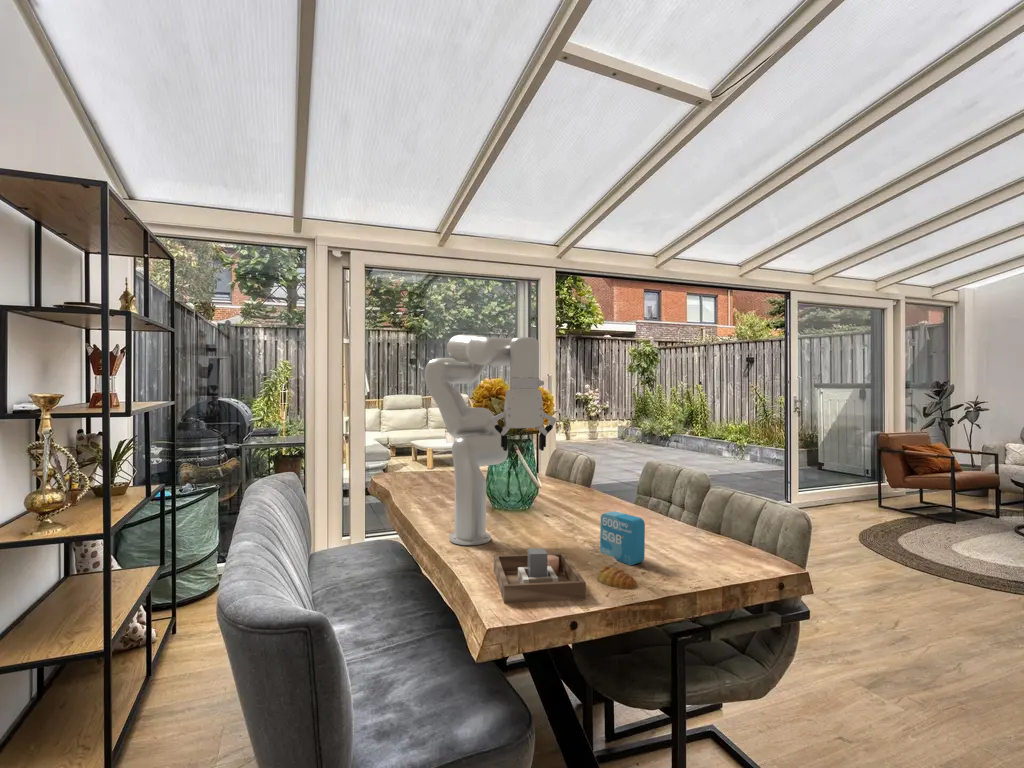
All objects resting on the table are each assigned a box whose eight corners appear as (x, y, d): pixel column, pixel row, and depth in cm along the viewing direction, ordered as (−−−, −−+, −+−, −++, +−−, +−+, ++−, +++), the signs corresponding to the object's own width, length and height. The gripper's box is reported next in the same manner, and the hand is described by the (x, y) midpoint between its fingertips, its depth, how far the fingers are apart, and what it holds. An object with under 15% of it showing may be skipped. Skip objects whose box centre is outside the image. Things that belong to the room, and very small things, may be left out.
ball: (539, 571, 135) (539, 555, 135) (556, 570, 136) (556, 554, 136) (542, 577, 131) (543, 561, 131) (560, 576, 131) (560, 560, 131)
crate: (493, 573, 135) (493, 555, 135) (563, 570, 138) (563, 553, 138) (504, 606, 116) (504, 586, 116) (585, 602, 118) (585, 582, 118)
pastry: (643, 588, 127) (643, 572, 127) (627, 596, 123) (627, 580, 122) (609, 577, 134) (609, 562, 134) (593, 585, 129) (593, 569, 129)
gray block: (527, 582, 128) (527, 548, 127) (544, 581, 128) (544, 548, 128) (529, 588, 124) (530, 554, 124) (547, 588, 124) (547, 553, 124)
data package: (599, 555, 151) (600, 512, 151) (610, 551, 154) (611, 509, 153) (633, 567, 141) (634, 521, 141) (644, 563, 144) (645, 518, 144)
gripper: (553, 384, 146) (552, 448, 146) (489, 384, 143) (489, 448, 144) (559, 385, 139) (558, 451, 139) (492, 384, 136) (492, 452, 136)
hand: (523, 450), depth 141 cm, fingers open, 9 cm apart
